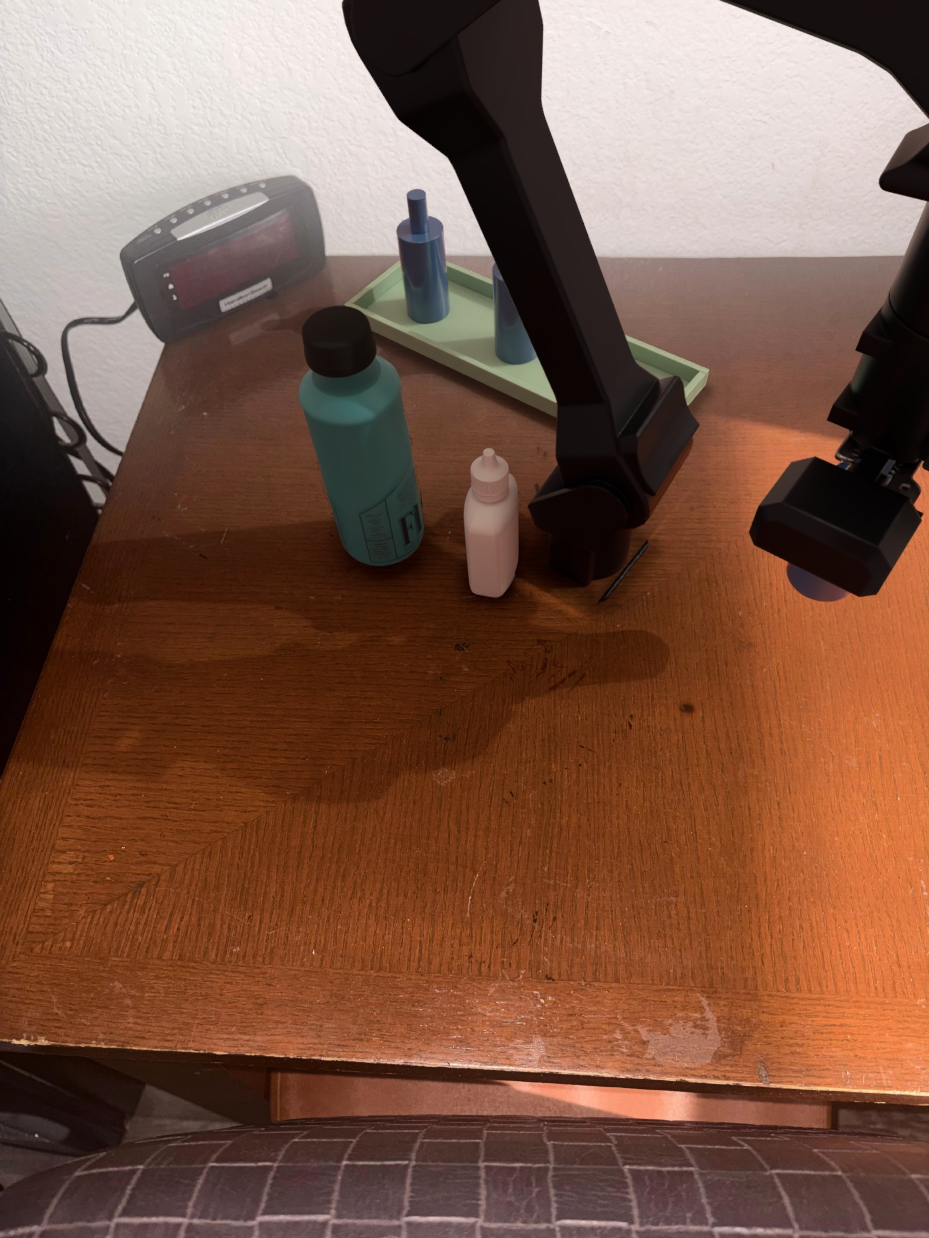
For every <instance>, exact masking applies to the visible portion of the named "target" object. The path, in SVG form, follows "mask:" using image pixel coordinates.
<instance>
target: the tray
mask: <svg viewBox="0 0 929 1238" xmlns="http://www.w3.org/2000/svg"><path fill="white" fill-rule="evenodd" d="M446 263H447V276H448V288H449V300H450V311H449V314H448V315H447V316H446V317H445V318H444V319H442V320H440V321H438V322H435V323H429V324H424V323H418V322H415V321H413V320H412V319H411V318H410V317H409V316H408V314H407V310H406V302H405V294H404V287H403V279H402V272H401V264H400V259H399V260H397V262H395V263H394V264H392V265H391V266H390V267H389V268H387V270H385V271H384V272H382V273H381V274H380V275H379V276H378V277H376V278H375V279H374V280H373V281H371V282H370V283H368V285H366V286H365V287H364V288H363V289H361V290H360V291H359V292H358V293H357V294H355V295H354V296H353V297H351V298H350V299H349V300H348V301H346V302H345V303H344V304H343V306H349V307H353V308H356V309H358V310H360V311H361V312H363V313H364V314H365V315H366V317H367V318H368V320H369V323H370V326H371V330H372V333H376V334H377V335H380V336H382V337H384V338H386V339H388V340H390V341H393V342H395V343H396V344H399V345H401V346H403V347H405V348H407V349H409V350H412V351H414V352H416V353H418V354H420V355H422V356H424V357H427V358H429V359H431V360H433V361H435V362H437V363H439V364H441V365H444V366H445V367H448V368H450V369H452V370H453V371H457V372H458V373H461V374H463V375H464V376H467V377H468V378H471V379H473V380H475V381H477V382H479V383H482V384H484V385H486V386H488V387H490V388H492V389H495V390H496V391H499V392H501V393H503V394H505V395H507V396H509V397H511V398H514V399H516V400H518V401H520V402H522V403H524V404H525V405H528V406H531V407H533V408H534V409H537V410H539V411H541V412H543V413H544V414H548V415H549V416H552V417H554V418H555V419H557V402H556V399H555V396H554V393H553V391H552V389H551V386H550V384H549V382H548V380H547V377H546V375H545V373H544V371H543V368H542V366H541V364H540V362H539V359H538V357H536V358H535V359H534V360H532V361H530V362H528V363H524V364H509V363H506V362H504V361H502V360H500V359H499V358H498V357H497V355H496V353H495V345H494V313H493V281H492V279H491V278H489V277H486V276H484V275H481V274H479V273H476V272H474V271H471V270H470V269H467V268H464V267H462V266H459V265H457V264H454V263H452V262H450V261H447V260H446ZM625 336H626V339H627V342H628V345H629V347H630V350H631V353H632V355H633V358H634V359H635V361H636V363H637V364H639V365H640V366H642V367H643V368H644V369H646V370H647V371H649V372H650V373H652V374H653V375H655V376H656V377H657V378H659V379H663V378H667V377H671V376H675V375H676V376H679V377H680V379H681V380H682V382H683V384H684V391H685V398H686V402H687V406H688V407H689V405H690V404H691V403H692V402H693V400H694V399H695V398H696V397H697V396H698V395H699V394H700V392H701V391H702V390H703V388H705V386H706V385H707V382H708V377H709V373H710V369H709V368H707V367H704V366H702V365H699V364H697V363H695V362H693V361H689V360H687V359H685V358H682V357H680V356H679V355H675V354H673V353H670V352H668V351H666V350H663V349H660V348H658V347H656V346H653V345H651V344H649V343H646V342H643V341H641V340H639V339H636V338H634V337H631V336H629V335H627V334H625Z"/></svg>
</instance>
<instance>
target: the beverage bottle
mask: <svg viewBox="0 0 929 1238" xmlns="http://www.w3.org/2000/svg"><path fill="white" fill-rule="evenodd" d="M301 338H302V343H303V353H304V358H305V362H306V364H307V367H308V368H309V369H308V370H307V372H306V373H305V374H304V376H303V377H302V378H301V381H300V383H299V387H298V391H297V392H298V394H297V396H298V402H299V405H300V407H301V410H302V411H303V414H304V417H305V421H306V424H307V428H308V432H309V435H310V438H311V441H312V446H313V448H314V452H315V456H316V458H317V463H318V467H319V468H317V471H318V472H319V469H320V475H321V478H322V479H321V478H320V482H321V484H322V482H323V485H324V489H323V492H324V495H325V499H326V502H327V505H328V510H331V513H332V517H331V518H332V521H333V526H334V528H336V529H335V532H336V535H337V536H338V537H337V538H338V540H339V541H340V542H341V544H340V545H341V547H342V549H343V550H344V551H345V552H347V553H348V554H349V556H350V557H352V558H353V559H354V560H356V561H358V562H360V563H362V564H365V565H369V566H374V567H384V566H390V565H394V564H397V563H400V562H402V561H404V560H405V559H407V558H409V557H411V556H412V555H413V554H414V553H415V552H416V550H417V549H418V548H419V547H420V545H421V543H422V540H423V538H424V535H425V528H426V523H425V519H426V517H425V515H423V514H425V512H424V505H423V498H422V492H421V490H419V487H420V486H421V485H419V484H420V483H419V481H418V479H419V478H418V475H419V474H418V472H417V468H418V467H417V466H415V461H414V457H413V451H412V450H413V448H412V446H413V443H414V442H413V439H412V437H410V432H409V427H408V426H409V425H408V422H410V421H409V419H406V416H408V415H407V413H406V411H405V408H404V407H405V406H404V401H403V395H402V382H401V377H400V374H399V372H398V371H397V369H396V368H395V367H394V365H393V364H391V362H390V361H388V360H387V359H385V358H383V357H381V356H380V355H378V354H377V352H378V351H377V349H378V348H377V343H376V339H375V336H374V333H373V331H372V330H371V326H370V323H369V320H368V318H367V317H366V315H365V314H364V313H363V312H361V311H360V310H358V309H356V308H353V307H349V306H344V305H332V306H327V307H324V308H321V309H319V310H316V311H315V312H314V313H312V314H311V315H310V316H309V317H308V318H306V320H305V321H304V323H303V325H302V329H301ZM407 421H408V422H407ZM410 429H411V428H410ZM326 495H327V496H326Z"/></svg>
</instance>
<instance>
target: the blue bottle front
mask: <svg viewBox="0 0 929 1238" xmlns="http://www.w3.org/2000/svg"><path fill="white" fill-rule="evenodd" d="M860 460H861V459H858V460H857V461H856V462H857V463H859V462H860ZM895 462H896V461H894V460H890V462H889V463H888V465H887V466H886V468H885V469H884V471H883V472H882V474H884V475H887V474H888V472H889V471H890V469H891V468H892V466H893V464H895ZM835 465H836V466H839V467H841V468H843V469H846V468H847V467H849V465H847V464H845V463H842V462H839V463H838V464H835ZM887 476H888V475H887ZM891 479H892V478H891ZM891 479H890V481H891ZM890 481H889V482H890ZM888 484H889V483H888ZM786 563H787V564H786V577H787V579H788V582H789V583H790V585H791V586H792V588H794V590H795V591H797V593H799V594H801V595H802V596H804V597H805V598H807V599H810V600H813V601H817V602H822V603H831V602H832V603H833V602H837V601H840V600H842V599H845V598H847V597H848V596H849V595H850V594H851V593H849V592H847V591H845V590H843V589H841V588H839V587H837V586H835V585H833V584H831V583H829V582H827V581H825V580H823V579H821V578H819V577H817V576H815V575H813V574H811V573H809V572H807V571H805V570H803V569H801V568H799V567H797V566H795V565H793V564H791V563H789V562H786Z"/></svg>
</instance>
